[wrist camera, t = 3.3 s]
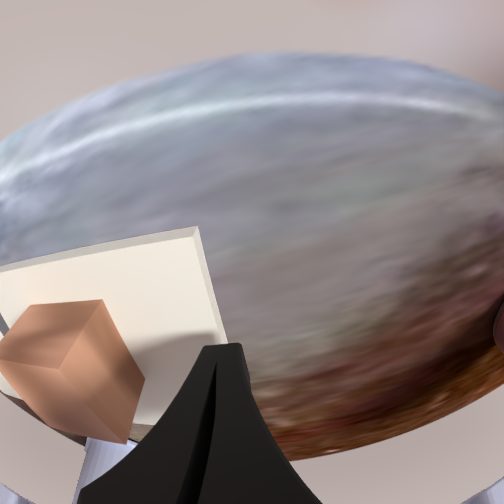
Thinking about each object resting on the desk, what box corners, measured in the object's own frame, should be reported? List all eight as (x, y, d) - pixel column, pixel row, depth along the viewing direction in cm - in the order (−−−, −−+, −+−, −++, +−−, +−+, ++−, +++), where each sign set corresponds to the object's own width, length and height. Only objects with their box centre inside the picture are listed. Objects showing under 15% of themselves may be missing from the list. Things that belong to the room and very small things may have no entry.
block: (102, 298, 10) (59, 369, 6) (145, 378, 12) (126, 444, 9) (30, 304, 10) (-12, 356, 7) (74, 374, 12) (49, 426, 9)
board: (197, 225, 10) (192, 236, 9) (249, 411, 15) (249, 424, 14) (-58, 281, 11) (-64, 287, 10) (7, 386, 16) (3, 393, 15)
